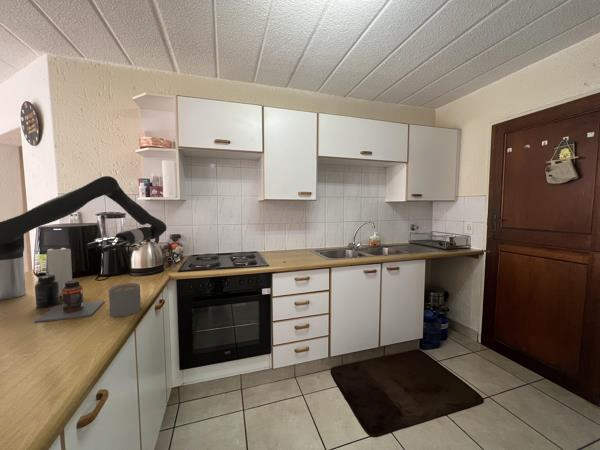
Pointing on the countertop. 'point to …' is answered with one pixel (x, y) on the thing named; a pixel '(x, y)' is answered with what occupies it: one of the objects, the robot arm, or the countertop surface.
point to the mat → (59, 314)
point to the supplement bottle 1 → (47, 291)
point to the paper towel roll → (60, 266)
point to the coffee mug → (124, 299)
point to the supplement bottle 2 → (72, 296)
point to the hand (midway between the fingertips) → (95, 248)
